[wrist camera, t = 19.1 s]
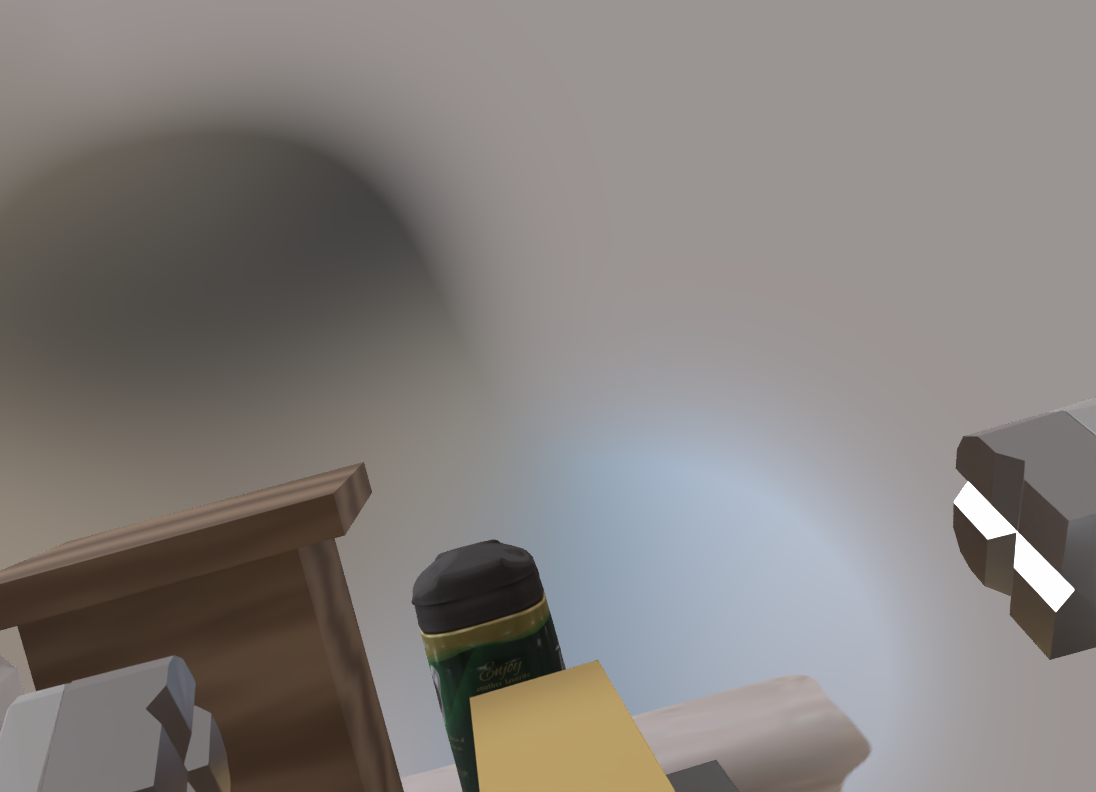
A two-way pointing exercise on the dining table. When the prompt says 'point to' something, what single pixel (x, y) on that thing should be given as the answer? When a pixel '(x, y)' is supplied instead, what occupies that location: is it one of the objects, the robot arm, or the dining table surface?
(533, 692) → the yellow bar
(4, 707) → the milk
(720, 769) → the podium
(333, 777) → the walnut stand
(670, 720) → the dining table surface
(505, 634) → the coffee jar
